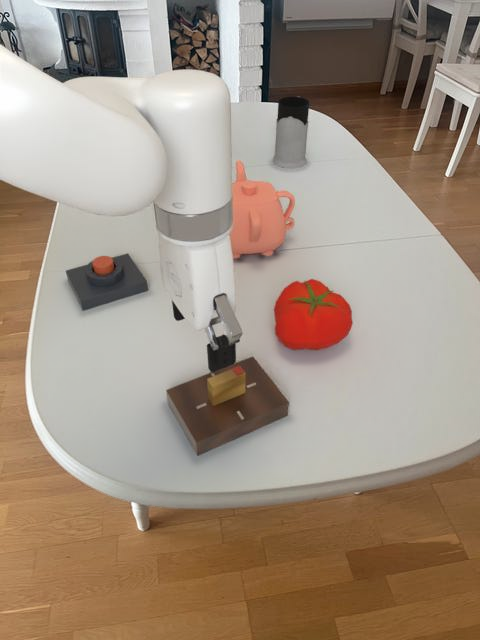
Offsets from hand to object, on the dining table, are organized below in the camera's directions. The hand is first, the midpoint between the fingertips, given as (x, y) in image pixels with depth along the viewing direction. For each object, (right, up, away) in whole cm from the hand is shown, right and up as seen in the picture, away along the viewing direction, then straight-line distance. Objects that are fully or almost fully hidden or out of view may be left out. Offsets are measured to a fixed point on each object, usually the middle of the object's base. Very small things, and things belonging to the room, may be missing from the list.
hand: (203, 340), depth 61 cm
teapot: (+5, +18, +45) cm, 49 cm away
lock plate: (+2, -10, +12) cm, 16 cm away
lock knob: (+3, -8, +10) cm, 13 cm away
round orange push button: (-20, +11, +31) cm, 39 cm away
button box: (-20, +9, +34) cm, 40 cm away
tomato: (+16, 0, +24) cm, 29 cm away
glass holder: (+18, +45, +76) cm, 90 cm away
